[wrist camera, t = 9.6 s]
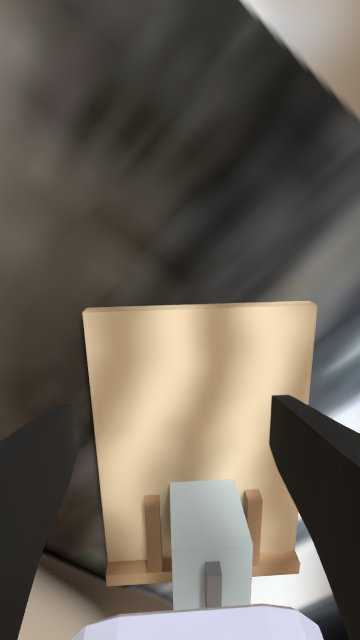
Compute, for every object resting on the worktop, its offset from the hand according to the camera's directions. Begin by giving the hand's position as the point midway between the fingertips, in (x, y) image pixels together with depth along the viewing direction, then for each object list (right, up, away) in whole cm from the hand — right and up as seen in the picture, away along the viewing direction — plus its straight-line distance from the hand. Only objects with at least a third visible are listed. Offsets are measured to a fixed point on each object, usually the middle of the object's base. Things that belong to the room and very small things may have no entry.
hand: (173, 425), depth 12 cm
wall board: (+2, -5, +12) cm, 13 cm away
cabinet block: (+2, -10, +12) cm, 16 cm away
